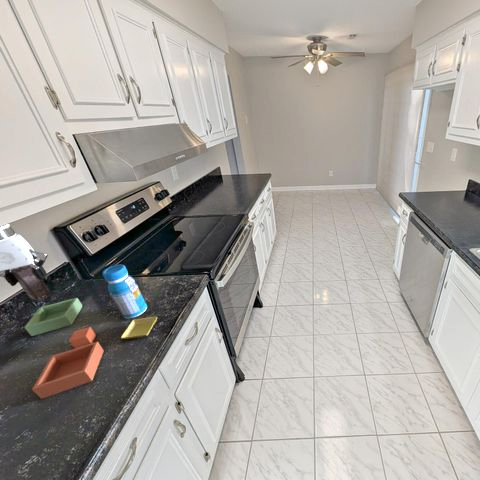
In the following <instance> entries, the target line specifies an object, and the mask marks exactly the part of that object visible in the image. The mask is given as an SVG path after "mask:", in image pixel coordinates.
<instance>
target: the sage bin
mask: <svg viewBox="0 0 480 480" xmlns="http://www.w3.org/2000/svg"><path fill="white" fill-rule="evenodd" d="M82 308H83V304H82V303H81V301H80V300H79V298H78V297H75V298H70V299H65V300H63V301H58V302H54V303H52V304H47V305H43V306H40V307H39V308H38V310H37V311H36V312H35V314H34V315H33V316H32V317H30V318H31V319H30V320H28V322H27V323H26V324H25V326H24V329H25V330H26V332H27V333H28V334H29V335H30V336H31V337H34V336H37V335H41V334H44V333H48V332H51V331H55V330H59V329H62V328H66V327H69V326H72V325H73V323H74V321H75V319H76V318H77V316H78V314H79V313H80V311H81V310H82Z"/></svg>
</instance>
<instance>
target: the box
mask: <svg viewBox="0 0 480 480" xmlns="http://www.w3.org/2000/svg"><path fill="white" fill-rule="evenodd" d="M34 270H35V268H33V267H31V266H29V265H27V266H22V267H18V268H13V269H10V272H12V274H13V275H14V276H15V278H16V279H17V281H18V284H19V285H20V287H21V288H22V289H23V291H24V292H25V293H26V295H27V297H29V299H31V300H33V301H36V302H40V301H42V300H44V299H46V298H48V297H49V296H51V295H52V292H51V291H50V289H49V288H48V286H47V285H46V283H45V282H44V281H43V280H44V279H39V277H38V276H37V274H36V273H35V272H34Z"/></svg>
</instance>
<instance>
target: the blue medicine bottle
mask: <svg viewBox="0 0 480 480" xmlns="http://www.w3.org/2000/svg"><path fill="white" fill-rule="evenodd" d="M102 276H103V279H104V280H105V281H106V282H107V291H108V292H109V295H110V297H111V298H112V299H113V301H114V303H115V305H116V306H117V308H118V310H119V311H120V313H121V316H122V317H123V318H124V319H134V318H137V317H138V316H140V315H142V314H144V312H146V310H147V308H148V304H147V302H146V301H145V299H144V297H143V295H142V293H141V290H140V288H139V285H138V283H136V280H135V278H134V277H133V276H131V275H129V272H128V269H127V267H126V265H124V264H120V263H119V264H115V265H111V266H108V267H107V268H105V269H104V270H103V271H102Z"/></svg>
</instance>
